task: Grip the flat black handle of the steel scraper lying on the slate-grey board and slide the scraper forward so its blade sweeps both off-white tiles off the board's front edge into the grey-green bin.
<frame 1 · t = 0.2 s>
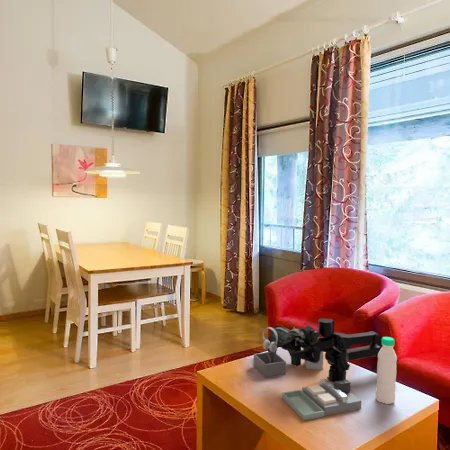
hand: (286, 350, 165), 17 cm above the table, tool horizontal, fingers open, 9 cm apart
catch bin: (302, 406, 153), on the table
water bottle: (385, 400, 158), on the table
tile a: (316, 391, 158), point 3 cm above the table, touching board
tile b: (326, 400, 152), point 3 cm above the table, touching board
supplement box: (313, 366, 189), on the table
headphones: (269, 371, 183), resting in gray open box
board: (330, 401, 157), on the table
scraper: (333, 393, 157), point 3 cm above the table, touching board
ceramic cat: (284, 360, 195), on the table
gray open box: (269, 370, 183), on the table
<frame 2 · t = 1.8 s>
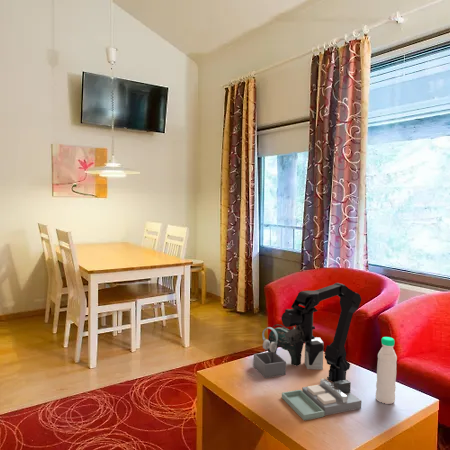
hand: (304, 360, 164), 13 cm above the table, tool pointing down, fingers open, 9 cm apart
nothing on the table moved.
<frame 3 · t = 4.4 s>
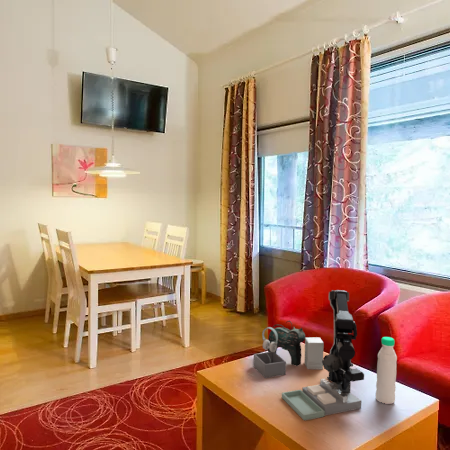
hand: (342, 388, 158), 5 cm above the table, tool pointing down, fingers closed on scraper, 2 cm apart
scraper: (333, 393, 157), point 3 cm above the table, touching board, gripper
everything else where it was.
when the fingers open (4 cm above the table, at t = 8.2 s): scraper stays where it is, resting on board, tile a, tile b.
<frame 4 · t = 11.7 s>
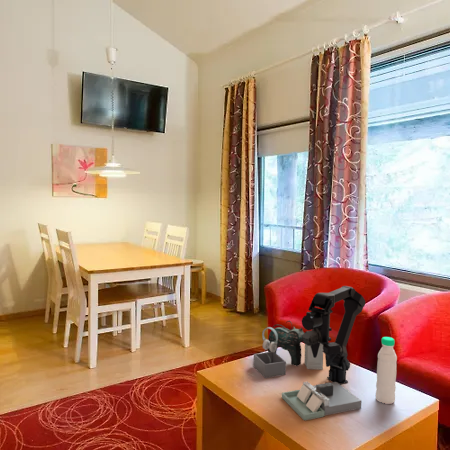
hand: (321, 361, 165), 12 cm above the table, tool pointing down, fingers open, 9 cm apart
tile a: (305, 394, 157), point 2 cm above the table, tilted 59°, touching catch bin, scraper
tile b: (315, 404, 150), point 2 cm above the table, tilted 53°, touching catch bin, scraper
scraper: (315, 396, 154), point 3 cm above the table, touching board, tile a, tile b
everything else where it was.
at the end: tile a inside the target area on the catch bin (5.0 cm from its centre), point 2.4 cm above the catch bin's base; tile b inside the target area on the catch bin (5.0 cm from its centre), point 2.3 cm above the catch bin's base; scraper point 3.0 cm above the table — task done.
